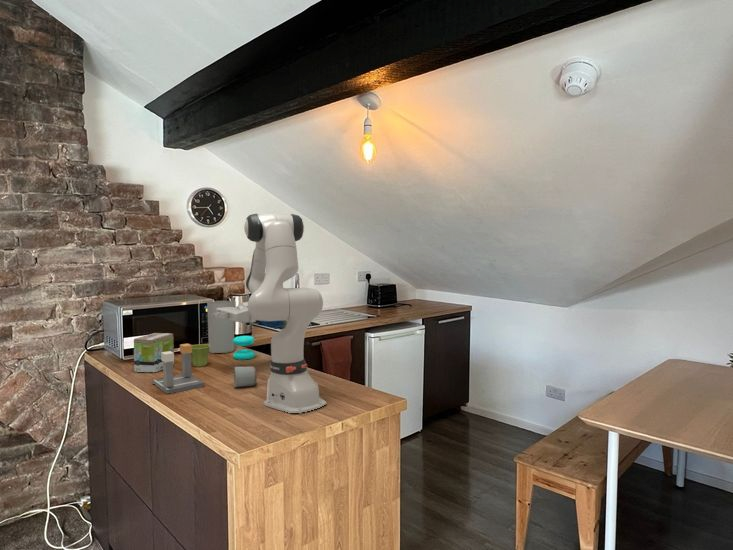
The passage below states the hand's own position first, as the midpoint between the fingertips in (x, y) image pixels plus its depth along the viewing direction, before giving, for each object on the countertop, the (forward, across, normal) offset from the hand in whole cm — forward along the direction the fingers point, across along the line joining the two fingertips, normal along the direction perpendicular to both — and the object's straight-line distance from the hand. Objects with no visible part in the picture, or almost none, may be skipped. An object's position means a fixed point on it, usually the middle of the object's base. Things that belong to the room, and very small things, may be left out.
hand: (214, 316), depth 198 cm
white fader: (+22, +9, +23) cm, 33 cm away
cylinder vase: (-20, -40, +25) cm, 51 cm away
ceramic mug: (-2, +22, +25) cm, 33 cm away
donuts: (-22, -19, +25) cm, 38 cm away
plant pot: (-1, -20, +25) cm, 32 cm away
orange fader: (+12, 0, +23) cm, 26 cm away
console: (+17, +4, +25) cm, 30 cm away
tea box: (+16, -28, +25) cm, 41 cm away
